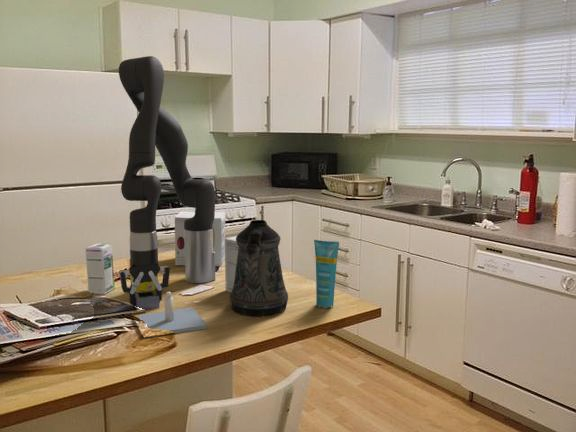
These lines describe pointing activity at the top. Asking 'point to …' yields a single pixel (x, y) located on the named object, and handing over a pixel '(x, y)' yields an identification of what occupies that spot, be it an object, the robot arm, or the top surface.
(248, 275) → the dark ornate coffee pot
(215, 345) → the top surface
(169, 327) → the keeper plate
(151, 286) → the supplement box
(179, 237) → the supplement box
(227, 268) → the supplement box
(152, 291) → the tissue dispenser
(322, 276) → the tube
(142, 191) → the robot arm
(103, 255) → the syrup box
